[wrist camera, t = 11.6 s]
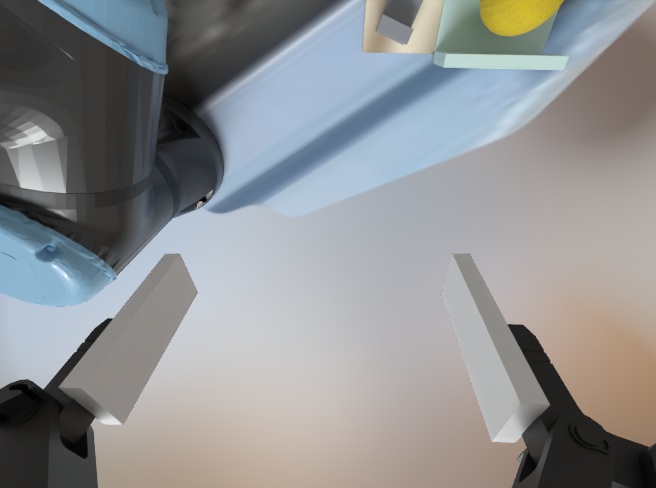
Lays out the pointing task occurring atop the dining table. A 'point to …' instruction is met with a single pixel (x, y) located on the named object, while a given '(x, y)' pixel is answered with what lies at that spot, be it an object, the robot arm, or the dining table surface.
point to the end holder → (489, 42)
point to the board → (422, 26)
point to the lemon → (516, 15)
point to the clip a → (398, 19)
